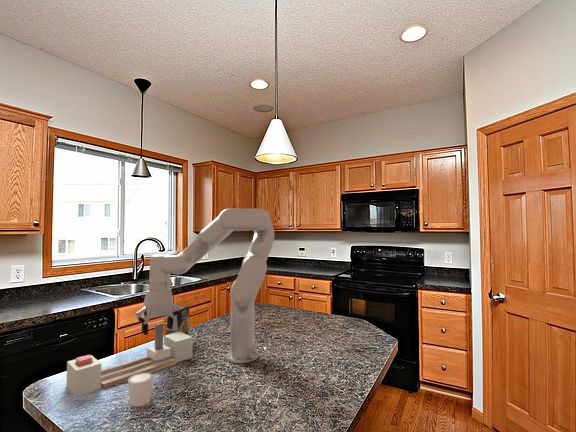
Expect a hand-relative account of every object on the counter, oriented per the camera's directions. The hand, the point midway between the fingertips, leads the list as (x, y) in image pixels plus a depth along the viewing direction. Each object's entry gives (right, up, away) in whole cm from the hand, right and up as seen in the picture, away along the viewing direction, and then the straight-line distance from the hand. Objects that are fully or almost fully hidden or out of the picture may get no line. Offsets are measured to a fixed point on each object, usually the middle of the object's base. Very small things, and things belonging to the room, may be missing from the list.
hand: (157, 331), depth 120 cm
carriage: (0, -10, 0) cm, 9 cm away
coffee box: (+1, -13, +19) cm, 23 cm away
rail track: (-5, -12, -7) cm, 15 cm away
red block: (-16, -6, -19) cm, 26 cm away
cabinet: (+6, -12, +5) cm, 15 cm away
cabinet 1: (-16, -11, -19) cm, 27 cm away
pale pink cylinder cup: (+6, -11, -27) cm, 30 cm away
